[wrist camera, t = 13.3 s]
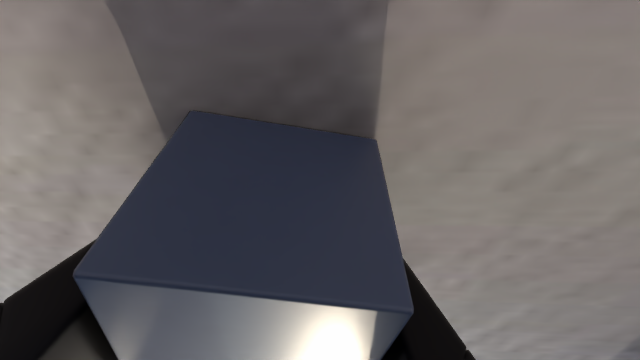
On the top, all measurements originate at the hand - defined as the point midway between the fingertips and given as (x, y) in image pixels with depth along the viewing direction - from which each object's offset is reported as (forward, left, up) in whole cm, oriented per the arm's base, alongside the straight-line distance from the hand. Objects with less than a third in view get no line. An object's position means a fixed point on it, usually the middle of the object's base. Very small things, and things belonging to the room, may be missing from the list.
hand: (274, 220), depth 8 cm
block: (0, 0, -1) cm, 1 cm away
